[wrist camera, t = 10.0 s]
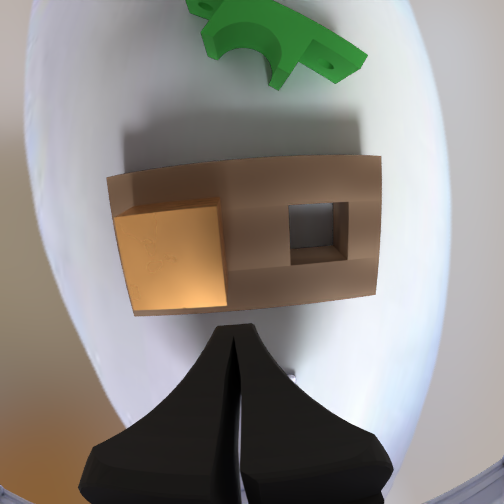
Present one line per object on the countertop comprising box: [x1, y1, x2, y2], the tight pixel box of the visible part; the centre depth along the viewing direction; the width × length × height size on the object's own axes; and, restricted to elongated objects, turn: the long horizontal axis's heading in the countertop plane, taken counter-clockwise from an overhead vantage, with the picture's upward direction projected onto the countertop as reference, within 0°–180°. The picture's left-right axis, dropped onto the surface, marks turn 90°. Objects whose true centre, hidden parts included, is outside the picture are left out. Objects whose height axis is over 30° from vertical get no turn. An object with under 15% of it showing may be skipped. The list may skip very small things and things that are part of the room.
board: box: [107, 155, 382, 316], centre depth 18 cm, size 9×16×3 cm, turn 94°
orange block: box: [114, 197, 228, 310], centre depth 17 cm, size 5×5×6 cm
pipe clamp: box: [186, 0, 368, 91], centre depth 14 cm, size 11×4×5 cm, turn 61°
